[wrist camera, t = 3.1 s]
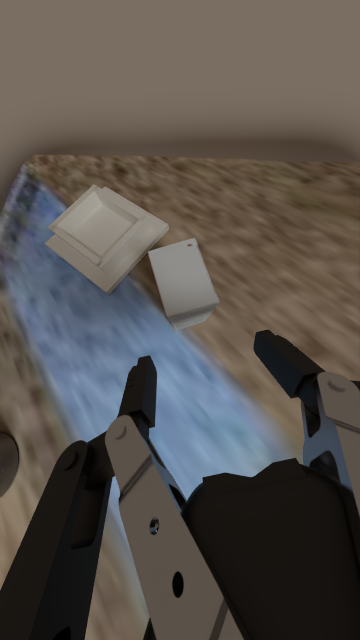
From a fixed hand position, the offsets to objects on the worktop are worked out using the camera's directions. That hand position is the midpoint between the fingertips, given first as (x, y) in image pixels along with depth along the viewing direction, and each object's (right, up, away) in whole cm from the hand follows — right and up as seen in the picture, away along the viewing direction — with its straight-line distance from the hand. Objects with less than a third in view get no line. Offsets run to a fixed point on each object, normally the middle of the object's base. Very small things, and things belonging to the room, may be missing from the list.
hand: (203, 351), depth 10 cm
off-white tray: (-17, +19, +18) cm, 31 cm away
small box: (-1, +5, +14) cm, 15 cm away
